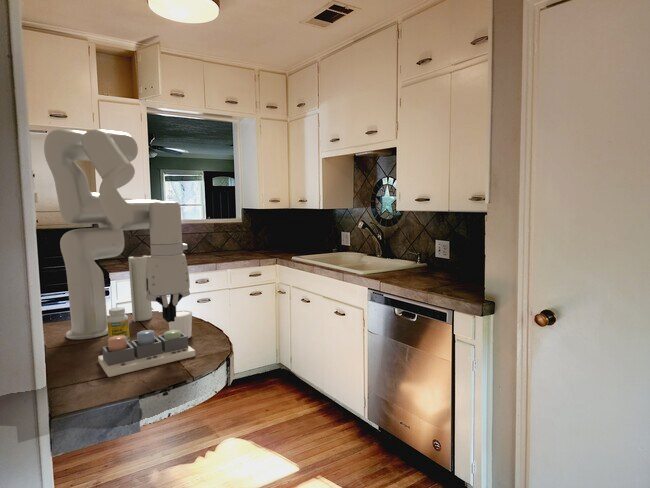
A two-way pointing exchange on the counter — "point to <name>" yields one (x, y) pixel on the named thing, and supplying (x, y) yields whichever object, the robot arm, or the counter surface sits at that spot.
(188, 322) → the white tapered cup
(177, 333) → the button three
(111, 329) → the supplement bottle
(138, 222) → the robot arm
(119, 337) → the button one
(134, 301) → the paper towel roll
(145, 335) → the button two
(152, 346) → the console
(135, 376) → the counter surface
